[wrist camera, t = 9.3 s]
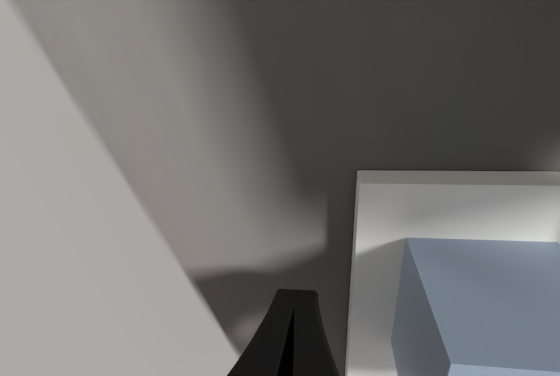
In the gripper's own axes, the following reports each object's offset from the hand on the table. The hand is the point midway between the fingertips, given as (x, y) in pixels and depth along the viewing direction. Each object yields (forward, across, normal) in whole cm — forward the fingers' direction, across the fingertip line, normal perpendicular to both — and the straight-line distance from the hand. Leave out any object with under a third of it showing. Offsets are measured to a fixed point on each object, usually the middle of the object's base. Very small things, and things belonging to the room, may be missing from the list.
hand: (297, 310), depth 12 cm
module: (+1, -6, 0) cm, 6 cm away
